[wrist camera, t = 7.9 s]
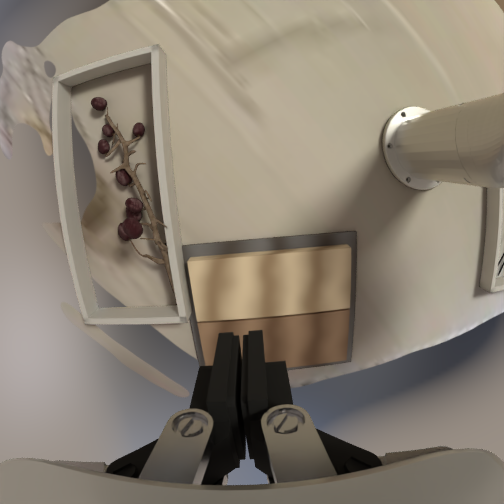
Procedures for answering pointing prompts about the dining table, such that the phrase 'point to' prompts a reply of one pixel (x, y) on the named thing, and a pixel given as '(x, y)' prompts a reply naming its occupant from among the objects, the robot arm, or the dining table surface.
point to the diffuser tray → (492, 242)
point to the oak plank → (271, 282)
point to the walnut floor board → (270, 247)
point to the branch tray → (166, 184)
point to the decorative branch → (124, 176)
